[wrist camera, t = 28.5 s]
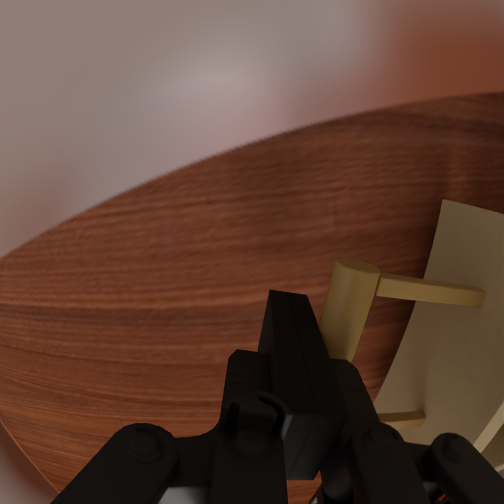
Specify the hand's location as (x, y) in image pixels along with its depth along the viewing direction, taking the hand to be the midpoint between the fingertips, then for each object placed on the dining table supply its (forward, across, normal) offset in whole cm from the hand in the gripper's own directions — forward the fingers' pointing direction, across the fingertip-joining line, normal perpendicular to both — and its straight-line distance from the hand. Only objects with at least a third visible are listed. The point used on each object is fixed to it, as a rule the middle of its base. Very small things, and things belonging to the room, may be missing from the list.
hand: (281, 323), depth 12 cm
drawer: (+2, +13, 0) cm, 13 cm away
